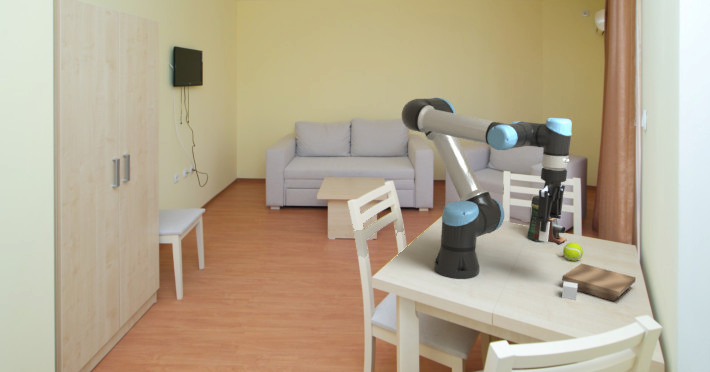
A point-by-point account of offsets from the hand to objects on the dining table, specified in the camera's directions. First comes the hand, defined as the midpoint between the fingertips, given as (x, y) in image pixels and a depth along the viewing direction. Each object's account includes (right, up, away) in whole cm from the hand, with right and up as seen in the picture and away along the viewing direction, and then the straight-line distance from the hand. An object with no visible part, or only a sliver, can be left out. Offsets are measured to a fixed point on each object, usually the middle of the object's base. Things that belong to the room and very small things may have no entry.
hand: (547, 239), depth 168 cm
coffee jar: (+15, -5, +47) cm, 50 cm away
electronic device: (+1, -1, 0) cm, 1 cm away
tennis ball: (+18, -10, +24) cm, 32 cm away
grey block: (+4, -17, -8) cm, 19 cm away
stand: (+16, -16, -1) cm, 22 cm away
